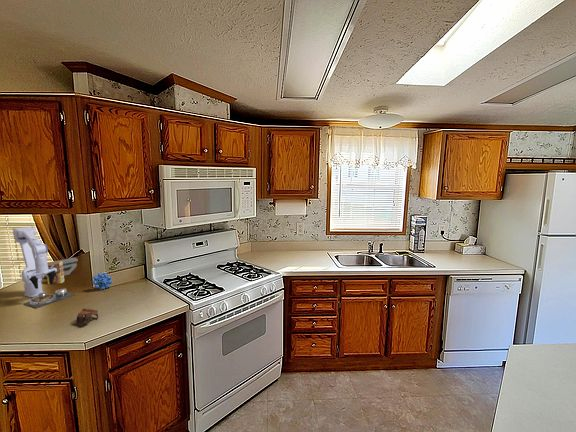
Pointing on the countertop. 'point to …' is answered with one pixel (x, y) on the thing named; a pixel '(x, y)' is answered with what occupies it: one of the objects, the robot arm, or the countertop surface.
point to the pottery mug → (87, 317)
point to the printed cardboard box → (67, 265)
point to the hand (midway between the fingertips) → (44, 286)
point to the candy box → (57, 272)
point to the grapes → (102, 281)
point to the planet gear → (42, 297)
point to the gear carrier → (56, 297)
